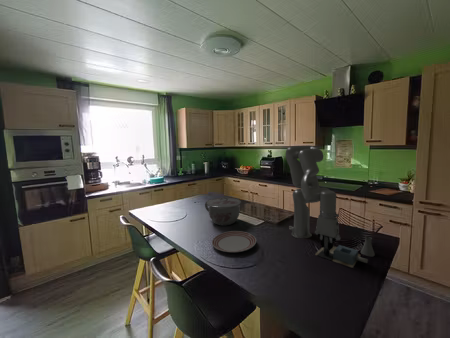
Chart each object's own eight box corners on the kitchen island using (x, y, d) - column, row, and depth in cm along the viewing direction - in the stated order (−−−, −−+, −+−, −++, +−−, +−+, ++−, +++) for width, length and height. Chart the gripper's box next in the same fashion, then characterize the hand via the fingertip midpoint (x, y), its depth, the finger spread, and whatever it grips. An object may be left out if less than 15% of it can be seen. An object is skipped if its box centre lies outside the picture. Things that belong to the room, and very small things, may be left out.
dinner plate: (217, 260, 113) (217, 254, 113) (208, 238, 139) (207, 234, 139) (264, 251, 120) (264, 246, 120) (246, 232, 147) (246, 228, 146)
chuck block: (333, 258, 109) (333, 251, 108) (339, 251, 115) (339, 244, 115) (364, 269, 99) (365, 261, 98) (369, 261, 105) (369, 253, 105)
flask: (360, 250, 118) (361, 233, 117) (376, 254, 113) (377, 237, 112) (358, 256, 112) (359, 238, 111) (375, 260, 108) (376, 242, 107)
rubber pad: (317, 255, 112) (317, 255, 112) (322, 250, 117) (322, 250, 116) (331, 260, 107) (331, 260, 107) (335, 255, 112) (335, 254, 112)
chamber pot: (247, 225, 159) (247, 198, 157) (213, 232, 149) (212, 203, 147) (233, 214, 185) (232, 191, 183) (203, 219, 175) (201, 195, 173)
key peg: (324, 251, 114) (325, 234, 112) (330, 253, 111) (330, 235, 110) (322, 253, 112) (322, 235, 110) (328, 255, 109) (328, 237, 108)
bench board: (314, 256, 113) (314, 254, 113) (325, 245, 124) (325, 243, 124) (352, 270, 100) (352, 267, 100) (361, 256, 112) (361, 254, 111)
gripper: (347, 216, 106) (345, 250, 108) (314, 209, 117) (314, 240, 120) (342, 220, 101) (341, 256, 103) (309, 212, 112) (308, 245, 114)
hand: (326, 247), depth 111 cm, fingers closed on key peg, 3 cm apart
